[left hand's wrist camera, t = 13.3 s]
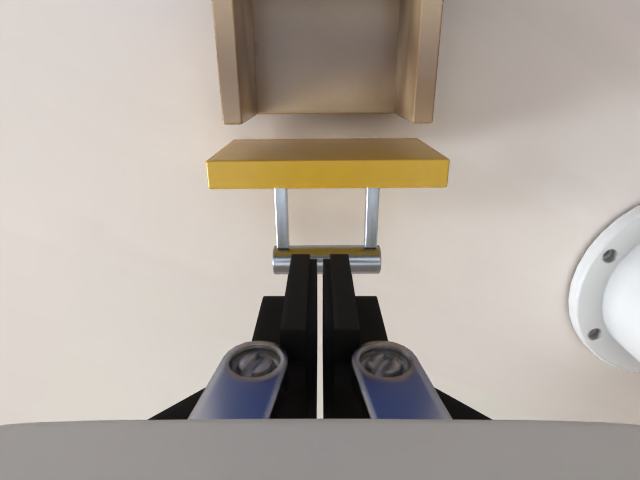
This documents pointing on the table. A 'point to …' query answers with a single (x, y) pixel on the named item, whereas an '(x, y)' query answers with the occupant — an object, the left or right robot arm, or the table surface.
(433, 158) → the drawer
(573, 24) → the table surface
